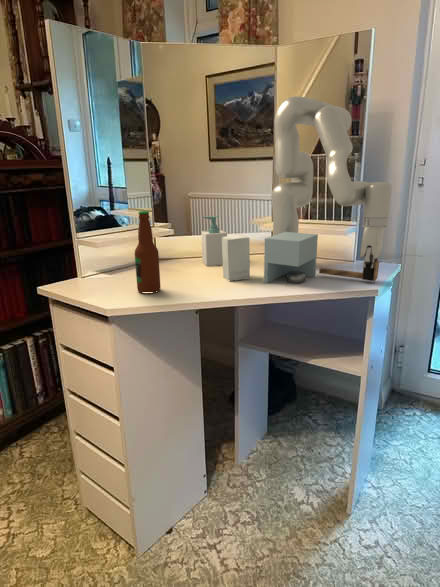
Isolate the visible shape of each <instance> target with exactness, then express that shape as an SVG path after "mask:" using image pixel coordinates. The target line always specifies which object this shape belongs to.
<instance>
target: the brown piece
mask: <svg viewBox="0 0 440 587" xmlns="http://www.w3.org/2000/svg"><path fill="white" fill-rule="evenodd" d="M370 261H371V260H370ZM371 262H372V261H371ZM364 263H365V260H364V261H363V266H362V271H361V272H360V271H353V270H352V271H351V270H344V269H336V268H329V267H328V268H327V267H320V268H319V272H318V273H319V274H321V275H328V276H329V275H330V276H331V275H332V276H337V277H338V276H339V277H344V278H345V277H346V278H354V279H361V280H363V281H365V280H364V279H363V272H364ZM379 267H380V260H378V261H376V260H375V261H374V278H373V280H368V281H370V282H375V281H376V280H378V277H379V276H378V275H379Z"/></svg>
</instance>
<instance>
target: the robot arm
mask: <svg viewBox="0 0 440 587" xmlns="http://www.w3.org/2000/svg"><path fill="white" fill-rule="evenodd" d="M274 115H275V116H274V134H275V150H274V151H275V153H274V154H275V158H274V159H275V161H274V162H275V163H274V165H275V172H276V175H277V176H278V177H279V178H282V179H290V181H289V182H288V181H287V182H282V183H279V184H277V185H276V186H274V187H273V190H272V192H271V195H270V196H271V197H270V198H271V199H270V200H271V205H272V206H271V207H272V214H273V216H272V220H273V221H272V232H273V233H272V236H274V235H277V234H280V233H284V232H293V233H299V228H300V227H299V220H300V219H299V215H298V211H297V209H298V208H302V207H303V208H304V207H306V206H307V205H309V203H311V200H312V199H313V198H312V197H313V194H314V193H313V192H314V191H313V190H314V162H313V160H312V157H311V156H310V154H308V153H307V152H305V151H300V141H301V140H300V134H299V131H298V129H297V125H304V126H312V127H315V130H316V132H317V135H318V137H319V140H320V143H321V145H322V147H323V151H324V153H325V156H326V160H327V161H326V170H325V171H326V174H325V175H326V181H327V185H328V187H329V189H330V192H331V195H332V197H333V199H334V200H335V202H336V203H337V204H338V205H340V206H342V207H351V206H352V207H353V206H360V205H363V213H362V214H363V217H362V225H361V226H362V228H363V234H362V240H361V244H360V245H361V246H360V254H359V257H360V259H364V261H365V263H364V262H363V265H364V272H363V271H362V273H363V279H364V280H363V281H369V280H373V278H374V261H375V260H376V261H379V257H380V256H381V254H382V253H383V246H384V245H383V243H384V234H385V233H384V232H385V229H388V226H389V216H390V207H391V197H392V188H393V187H392V184H391V183H389V182H384V181H383V182H382V181H380V182H379V181H378V182H377V181H376V182H375V181H374V182H368V181H362V180H355V181H354V180H353V181H352V179H351V176H350V174H349V171H348V166H347V165H348V164H347V163H348V162H347V161H348V157H349V156H350V154H351V153H352V151H353V143H352V141H351V139H350V138H351V137H349V133H348V131H349V130H350V129H351V126H352V116H351V113H350V112H349V111H348V109H346V108H344V107H340V106H336V105H334V104H331V103H328V102H325V101H321V100H318V99H316V98H315V99H314V98H310V97H305V96H299V95H298V96H290V97H288V98H286V99H284V100H283V101H282V102H281V103H280V105H278V108H277V109H276V112H275V114H274ZM263 254H264V255H263V257H264V256H265V253H263ZM370 260H371V261H372V262H371V261H370Z"/></svg>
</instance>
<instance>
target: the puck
mask: <svg viewBox="0 0 440 587" xmlns="http://www.w3.org/2000/svg"><path fill="white" fill-rule="evenodd" d="M286 282H287V283H289V284H293V285H300V284H301V285H302V284H305V283H306V276H305V273H304V272H300V271H291V272H288V273H287V274H286Z"/></svg>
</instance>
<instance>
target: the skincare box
mask: <svg viewBox="0 0 440 587" xmlns="http://www.w3.org/2000/svg"><path fill="white" fill-rule="evenodd" d="M250 238H251V237H249V236H247V235H244V234H237V235H230V236H229V235H227V237H222V255H223V265H222V277H223V278H224V279H225V278H226V279H227V280H226V279H225V280H226V281H228V280H235V281H240V280H241V279H242V280H249V279H250V278H251V276H250V274H251V272H250V271H251V270H250V268H251V267H250V266H251V265H250V263H251V262H250V259H251V257H250ZM242 280H241V281H242Z"/></svg>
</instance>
